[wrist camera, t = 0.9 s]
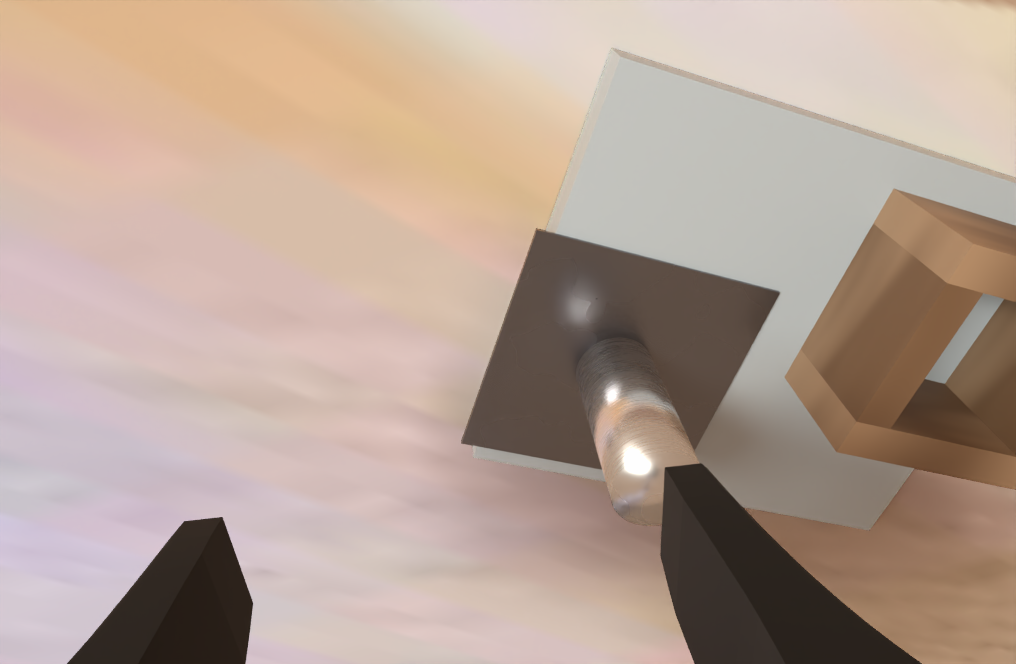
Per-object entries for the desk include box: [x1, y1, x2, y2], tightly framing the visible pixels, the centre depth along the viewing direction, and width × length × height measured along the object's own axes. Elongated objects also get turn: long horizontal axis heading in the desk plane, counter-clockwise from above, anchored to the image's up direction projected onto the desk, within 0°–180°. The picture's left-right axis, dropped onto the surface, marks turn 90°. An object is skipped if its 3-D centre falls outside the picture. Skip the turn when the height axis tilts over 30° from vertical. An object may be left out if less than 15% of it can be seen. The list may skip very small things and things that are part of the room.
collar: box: [785, 189, 1016, 490], centre depth 21 cm, size 6×6×3 cm
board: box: [472, 48, 1016, 531], centre depth 22 cm, size 14×12×1 cm
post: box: [461, 228, 780, 526], centre depth 20 cm, size 7×7×5 cm
